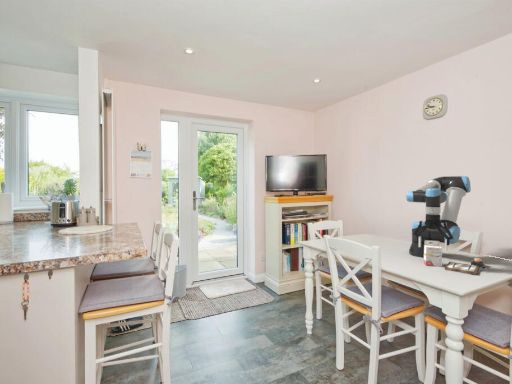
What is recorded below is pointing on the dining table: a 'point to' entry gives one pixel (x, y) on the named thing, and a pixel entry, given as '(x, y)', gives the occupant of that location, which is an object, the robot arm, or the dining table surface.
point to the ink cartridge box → (432, 253)
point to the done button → (478, 260)
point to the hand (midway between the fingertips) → (432, 248)
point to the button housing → (478, 264)
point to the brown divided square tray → (462, 268)
